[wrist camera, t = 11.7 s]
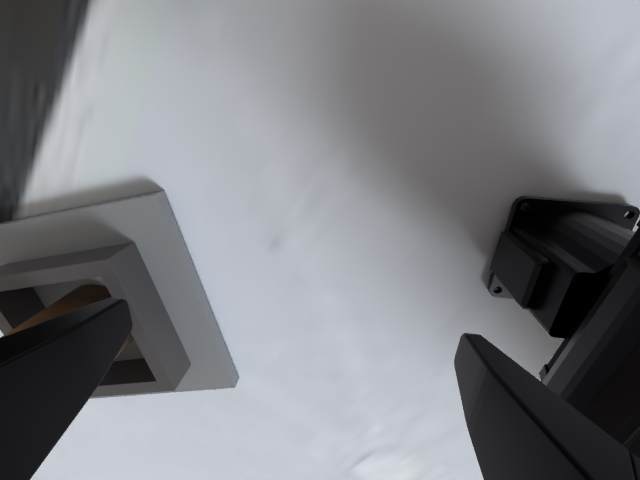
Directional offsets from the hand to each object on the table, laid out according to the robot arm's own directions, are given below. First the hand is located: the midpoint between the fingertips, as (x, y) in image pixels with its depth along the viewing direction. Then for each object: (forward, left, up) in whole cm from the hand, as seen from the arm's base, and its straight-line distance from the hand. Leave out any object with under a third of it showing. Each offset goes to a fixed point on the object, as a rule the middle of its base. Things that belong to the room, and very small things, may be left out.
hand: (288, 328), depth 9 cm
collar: (+16, +10, -12) cm, 22 cm away
